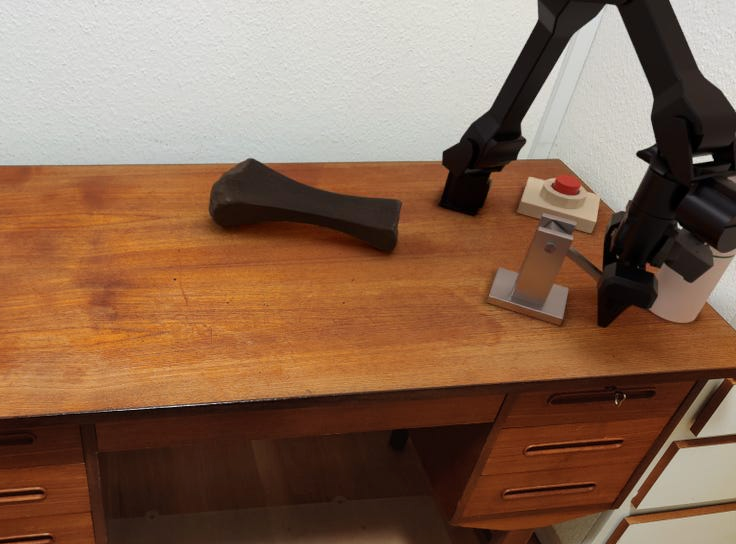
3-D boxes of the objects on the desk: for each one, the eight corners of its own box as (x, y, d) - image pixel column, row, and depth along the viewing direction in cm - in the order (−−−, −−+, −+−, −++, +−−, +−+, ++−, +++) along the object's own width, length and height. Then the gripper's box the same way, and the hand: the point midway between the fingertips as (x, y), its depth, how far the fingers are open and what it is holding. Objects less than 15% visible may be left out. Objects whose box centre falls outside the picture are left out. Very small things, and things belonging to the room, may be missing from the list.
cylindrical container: (693, 299, 105) (794, 136, 88) (699, 328, 100) (807, 160, 83) (641, 286, 106) (731, 123, 90) (645, 314, 101) (741, 146, 84)
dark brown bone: (203, 232, 110) (381, 281, 110) (205, 195, 100) (401, 249, 101) (221, 173, 114) (393, 220, 114) (226, 132, 104) (414, 184, 104)
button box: (516, 212, 119) (524, 191, 117) (524, 187, 127) (532, 166, 124) (591, 233, 117) (601, 212, 114) (595, 206, 124) (605, 185, 121)
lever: (610, 293, 98) (629, 279, 95) (608, 306, 95) (628, 292, 93) (536, 233, 97) (555, 217, 95) (533, 244, 95) (552, 228, 92)
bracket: (565, 294, 103) (599, 222, 95) (559, 325, 97) (595, 252, 89) (495, 273, 105) (523, 201, 98) (486, 302, 100) (514, 228, 92)
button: (551, 192, 118) (554, 182, 117) (553, 182, 121) (557, 172, 120) (576, 199, 117) (580, 189, 116) (578, 188, 120) (582, 179, 119)
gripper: (733, 265, 79) (665, 370, 89) (724, 193, 92) (666, 292, 102) (626, 235, 81) (573, 341, 92) (632, 169, 95) (585, 268, 105)
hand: (603, 309), depth 98 cm, fingers open, 8 cm apart
